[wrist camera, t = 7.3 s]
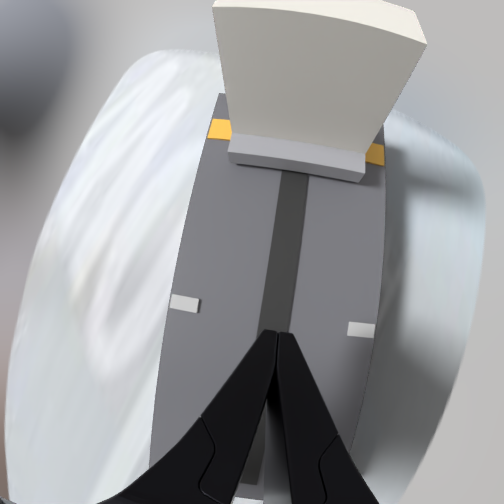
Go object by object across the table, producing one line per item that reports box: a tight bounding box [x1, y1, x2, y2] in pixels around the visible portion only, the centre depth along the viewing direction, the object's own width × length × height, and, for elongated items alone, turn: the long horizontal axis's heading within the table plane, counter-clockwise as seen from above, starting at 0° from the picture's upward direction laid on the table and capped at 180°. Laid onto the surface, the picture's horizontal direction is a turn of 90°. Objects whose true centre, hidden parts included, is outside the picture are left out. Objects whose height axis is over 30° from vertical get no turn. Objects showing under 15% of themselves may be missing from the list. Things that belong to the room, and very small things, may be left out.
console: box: [149, 93, 386, 500], centre depth 14 cm, size 20×9×3 cm, turn 171°
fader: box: [212, 0, 427, 183], centre depth 10 cm, size 4×6×8 cm, turn 81°
